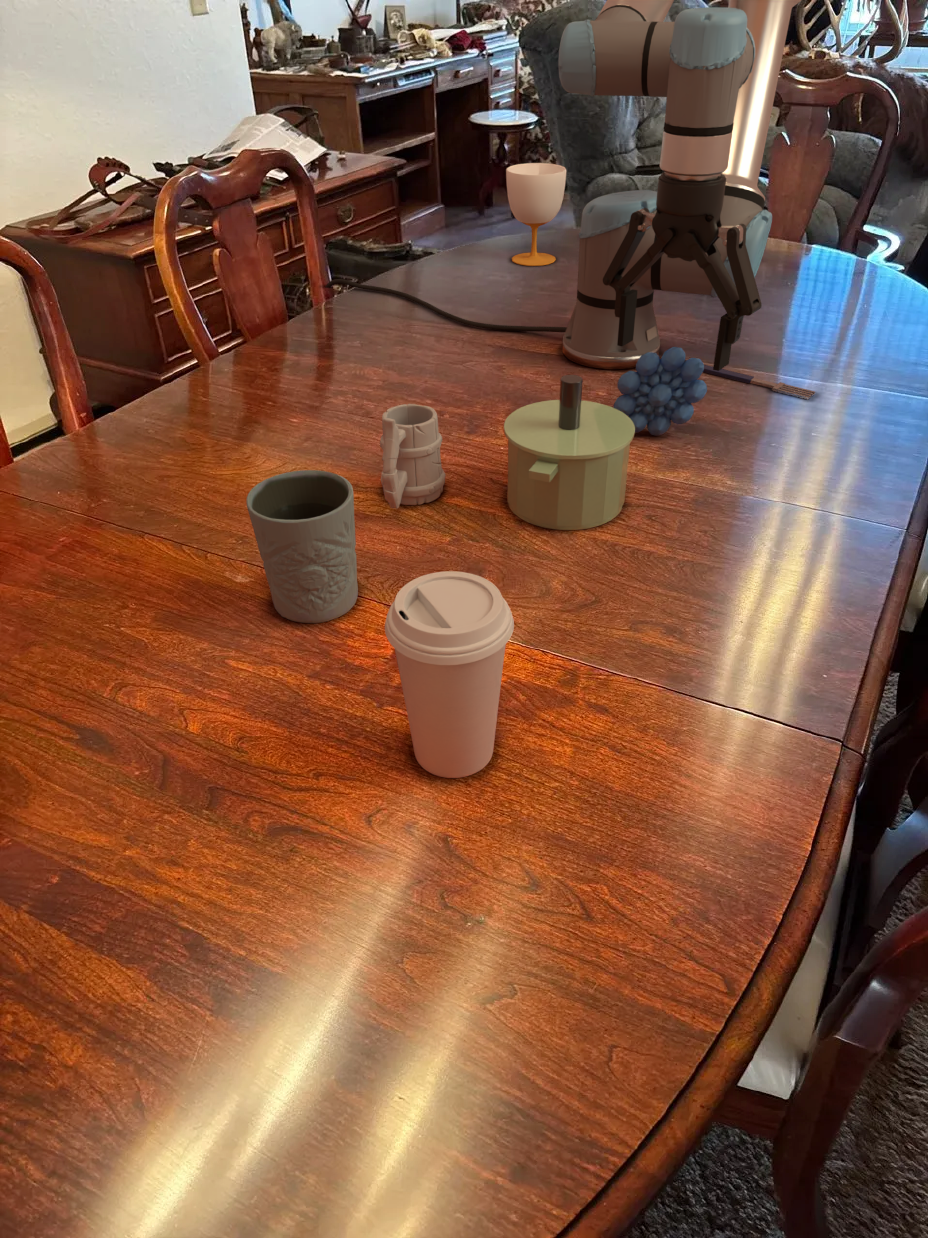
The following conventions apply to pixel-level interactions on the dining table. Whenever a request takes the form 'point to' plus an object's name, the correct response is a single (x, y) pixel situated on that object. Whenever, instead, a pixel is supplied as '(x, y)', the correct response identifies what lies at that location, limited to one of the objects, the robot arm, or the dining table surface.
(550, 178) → the cup
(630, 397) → the grapes
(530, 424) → the pot lid
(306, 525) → the embossed gray tumbler
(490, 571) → the dining table surface
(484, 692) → the coffee cup
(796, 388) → the spatula
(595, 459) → the pot
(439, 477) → the mug
